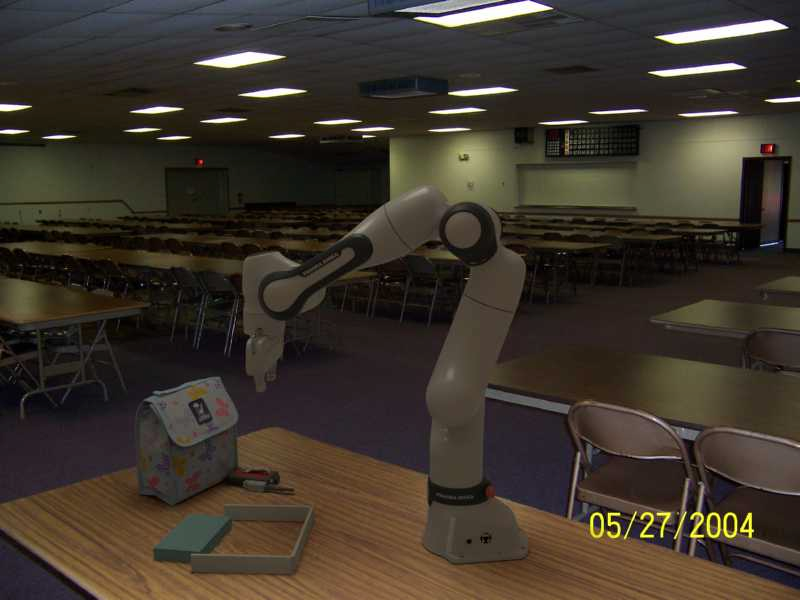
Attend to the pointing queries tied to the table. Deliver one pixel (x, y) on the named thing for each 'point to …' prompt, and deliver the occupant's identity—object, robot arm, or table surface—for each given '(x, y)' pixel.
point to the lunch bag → (185, 440)
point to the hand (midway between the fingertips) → (266, 385)
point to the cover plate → (192, 537)
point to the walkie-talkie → (255, 479)
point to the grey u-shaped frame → (259, 562)
